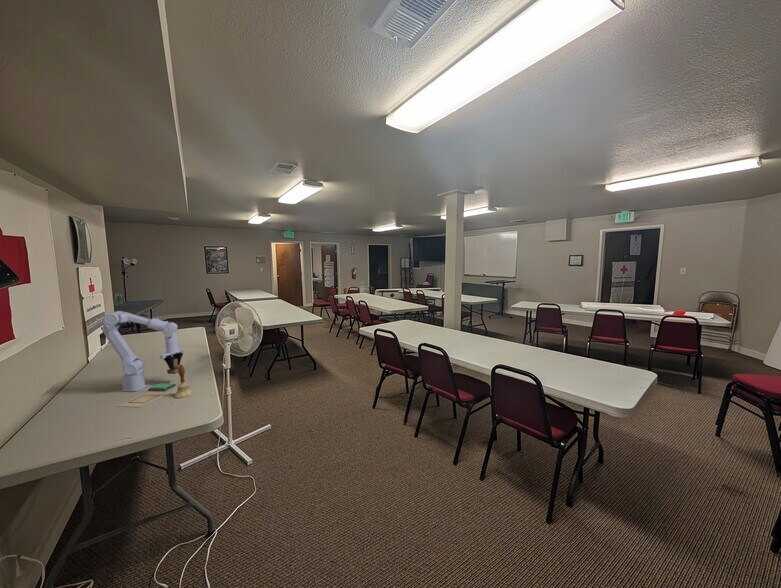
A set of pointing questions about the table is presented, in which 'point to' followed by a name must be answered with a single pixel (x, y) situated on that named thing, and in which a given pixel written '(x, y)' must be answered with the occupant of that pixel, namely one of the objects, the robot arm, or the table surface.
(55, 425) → the table surface
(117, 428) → the table surface
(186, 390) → the hand bell
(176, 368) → the stamp
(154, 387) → the ink pad
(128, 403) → the plate
